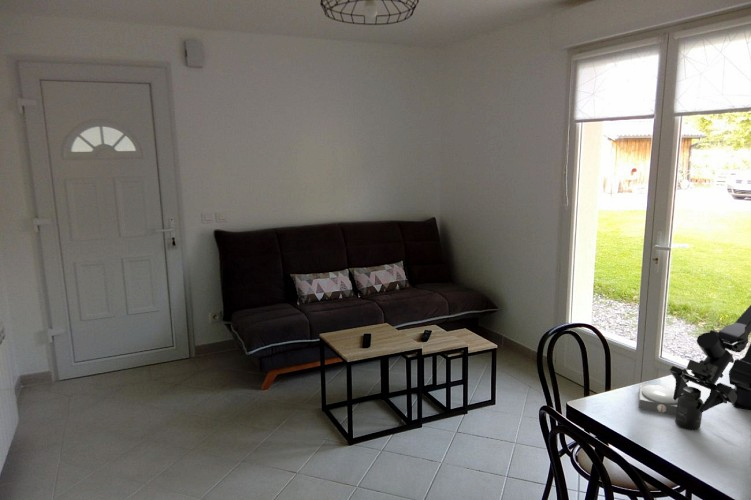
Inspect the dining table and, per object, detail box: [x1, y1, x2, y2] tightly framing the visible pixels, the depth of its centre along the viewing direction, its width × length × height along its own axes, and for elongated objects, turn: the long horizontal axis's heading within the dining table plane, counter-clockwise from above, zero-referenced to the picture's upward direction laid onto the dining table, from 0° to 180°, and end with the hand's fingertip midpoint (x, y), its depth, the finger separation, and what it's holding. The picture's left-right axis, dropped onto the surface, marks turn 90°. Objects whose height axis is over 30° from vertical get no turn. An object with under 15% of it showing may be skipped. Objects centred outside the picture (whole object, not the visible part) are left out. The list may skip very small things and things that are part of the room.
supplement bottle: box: [674, 385, 704, 431], centre depth 160 cm, size 7×7×12 cm
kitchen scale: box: [638, 383, 682, 416], centre depth 174 cm, size 13×14×4 cm
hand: (687, 405), depth 160 cm, fingers open, 8 cm apart
